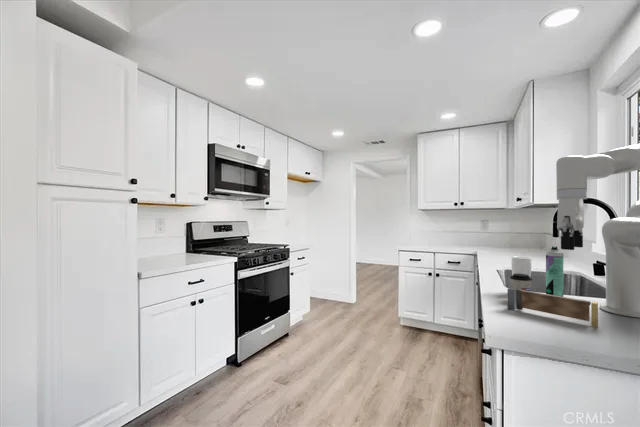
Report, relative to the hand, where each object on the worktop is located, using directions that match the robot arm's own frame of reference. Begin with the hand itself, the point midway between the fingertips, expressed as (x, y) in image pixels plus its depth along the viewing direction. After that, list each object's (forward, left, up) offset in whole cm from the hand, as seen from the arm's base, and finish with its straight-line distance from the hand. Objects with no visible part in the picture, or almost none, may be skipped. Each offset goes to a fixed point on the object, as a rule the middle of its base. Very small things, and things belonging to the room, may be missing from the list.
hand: (572, 248), depth 96 cm
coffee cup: (-7, -16, -22) cm, 28 cm away
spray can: (-24, -9, -22) cm, 34 cm away
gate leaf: (+6, -4, -21) cm, 23 cm away
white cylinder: (-19, -19, -22) cm, 35 cm away
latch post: (+6, +6, -22) cm, 23 cm away
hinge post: (+6, -15, -22) cm, 27 cm away
